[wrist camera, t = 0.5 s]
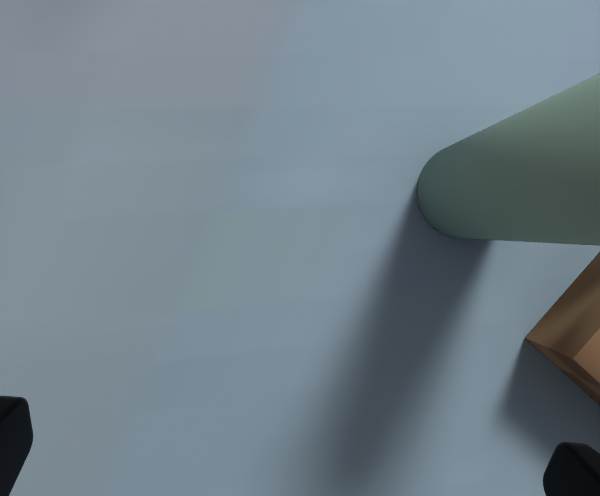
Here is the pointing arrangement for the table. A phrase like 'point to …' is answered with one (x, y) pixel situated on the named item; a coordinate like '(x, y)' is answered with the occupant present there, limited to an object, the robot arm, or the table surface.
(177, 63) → the table surface
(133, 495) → the table surface
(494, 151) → the sage peg
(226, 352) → the table surface
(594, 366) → the square wooden frame
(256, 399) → the table surface
